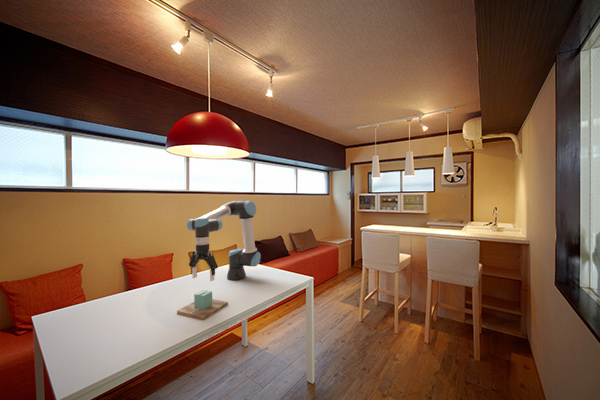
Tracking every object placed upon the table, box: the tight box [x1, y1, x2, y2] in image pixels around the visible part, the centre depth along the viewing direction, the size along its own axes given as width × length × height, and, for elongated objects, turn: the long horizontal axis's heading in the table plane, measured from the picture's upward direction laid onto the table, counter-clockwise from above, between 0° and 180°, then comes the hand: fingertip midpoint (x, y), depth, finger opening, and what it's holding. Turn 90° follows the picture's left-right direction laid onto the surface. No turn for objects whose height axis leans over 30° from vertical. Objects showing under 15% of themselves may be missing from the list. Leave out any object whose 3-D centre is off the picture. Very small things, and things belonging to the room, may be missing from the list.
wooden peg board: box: [176, 298, 229, 320], centre depth 142 cm, size 20×20×7 cm
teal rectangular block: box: [193, 289, 213, 310], centre depth 142 cm, size 7×7×9 cm
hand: (203, 279), depth 142 cm, fingers open, 13 cm apart
